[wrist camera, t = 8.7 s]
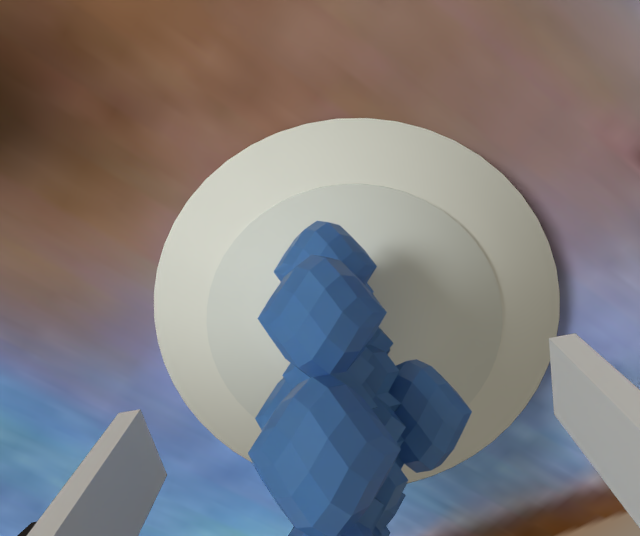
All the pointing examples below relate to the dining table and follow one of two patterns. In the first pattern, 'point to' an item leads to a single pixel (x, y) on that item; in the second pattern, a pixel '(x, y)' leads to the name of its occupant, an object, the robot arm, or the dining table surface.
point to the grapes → (344, 396)
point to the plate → (386, 281)
